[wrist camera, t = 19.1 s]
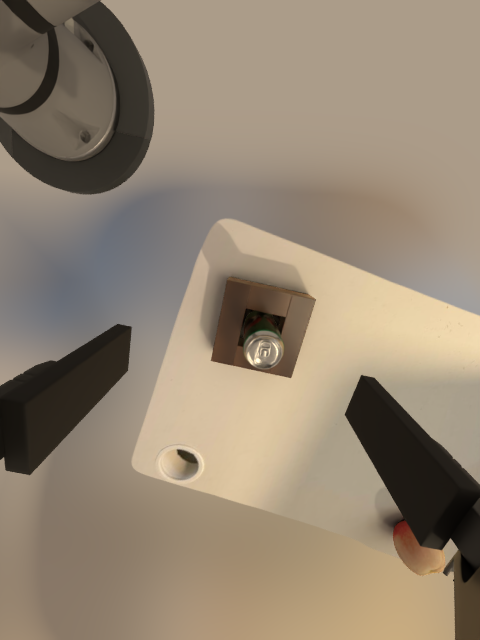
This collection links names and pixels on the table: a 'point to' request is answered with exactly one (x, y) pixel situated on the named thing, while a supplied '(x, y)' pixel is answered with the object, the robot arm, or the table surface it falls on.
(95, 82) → the robot arm
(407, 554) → the fruit
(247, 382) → the table surface
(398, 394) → the table surface
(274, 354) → the soda can
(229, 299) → the holder
